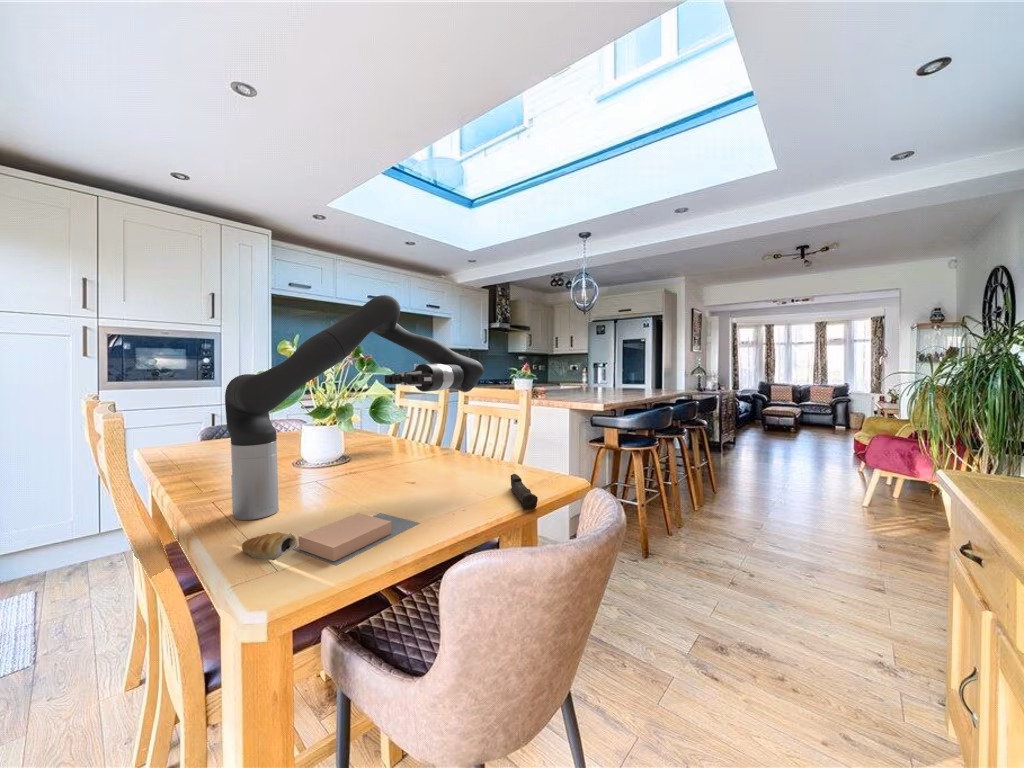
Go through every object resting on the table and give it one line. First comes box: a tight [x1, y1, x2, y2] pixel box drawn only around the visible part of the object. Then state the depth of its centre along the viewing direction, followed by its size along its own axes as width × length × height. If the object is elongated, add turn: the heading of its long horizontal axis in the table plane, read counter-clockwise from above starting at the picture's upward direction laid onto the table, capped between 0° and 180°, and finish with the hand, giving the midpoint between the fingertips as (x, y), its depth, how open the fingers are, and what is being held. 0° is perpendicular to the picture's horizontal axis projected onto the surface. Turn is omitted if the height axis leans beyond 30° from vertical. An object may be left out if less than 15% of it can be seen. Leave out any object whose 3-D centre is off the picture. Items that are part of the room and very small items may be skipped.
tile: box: [298, 512, 392, 561], centre depth 83 cm, size 10×3×14 cm
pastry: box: [241, 531, 298, 561], centre depth 80 cm, size 9×7×4 cm
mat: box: [292, 512, 421, 566], centre depth 86 cm, size 12×22×1 cm, turn 151°
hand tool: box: [510, 473, 539, 511], centre depth 112 cm, size 19×4×5 cm, turn 11°
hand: (387, 379), depth 100 cm, fingers closed
